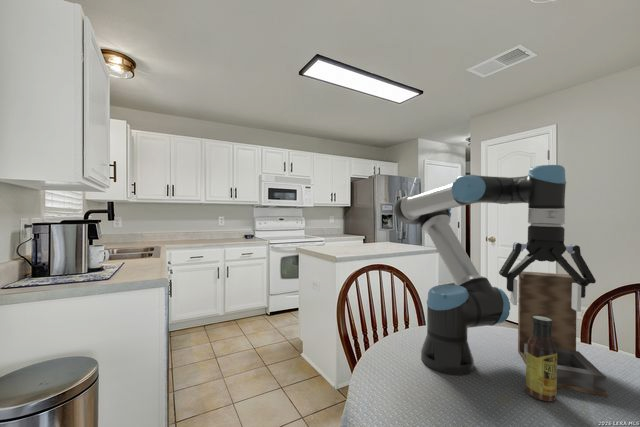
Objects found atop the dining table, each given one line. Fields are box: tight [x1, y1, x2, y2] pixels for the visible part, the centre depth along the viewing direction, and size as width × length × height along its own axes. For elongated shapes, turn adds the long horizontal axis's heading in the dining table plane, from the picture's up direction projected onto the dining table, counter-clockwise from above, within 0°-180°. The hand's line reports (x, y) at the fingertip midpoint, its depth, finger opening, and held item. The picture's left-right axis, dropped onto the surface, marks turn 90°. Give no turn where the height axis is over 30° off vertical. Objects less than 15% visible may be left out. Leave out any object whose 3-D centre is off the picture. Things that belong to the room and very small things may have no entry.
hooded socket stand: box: [517, 270, 609, 398], centre depth 86 cm, size 15×20×28 cm
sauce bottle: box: [525, 316, 558, 403], centre depth 74 cm, size 6×6×20 cm
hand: (543, 306), depth 75 cm, fingers open, 13 cm apart
